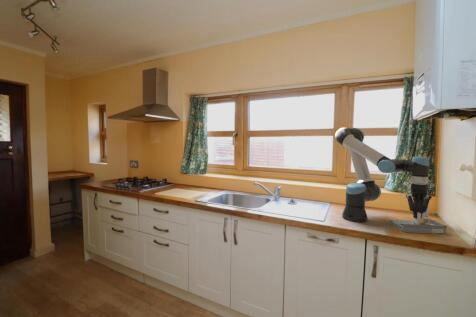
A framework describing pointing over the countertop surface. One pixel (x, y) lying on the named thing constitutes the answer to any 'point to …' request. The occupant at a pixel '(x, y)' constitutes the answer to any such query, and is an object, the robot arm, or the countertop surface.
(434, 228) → the trap board
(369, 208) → the countertop surface
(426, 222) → the maple block
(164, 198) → the countertop surface
